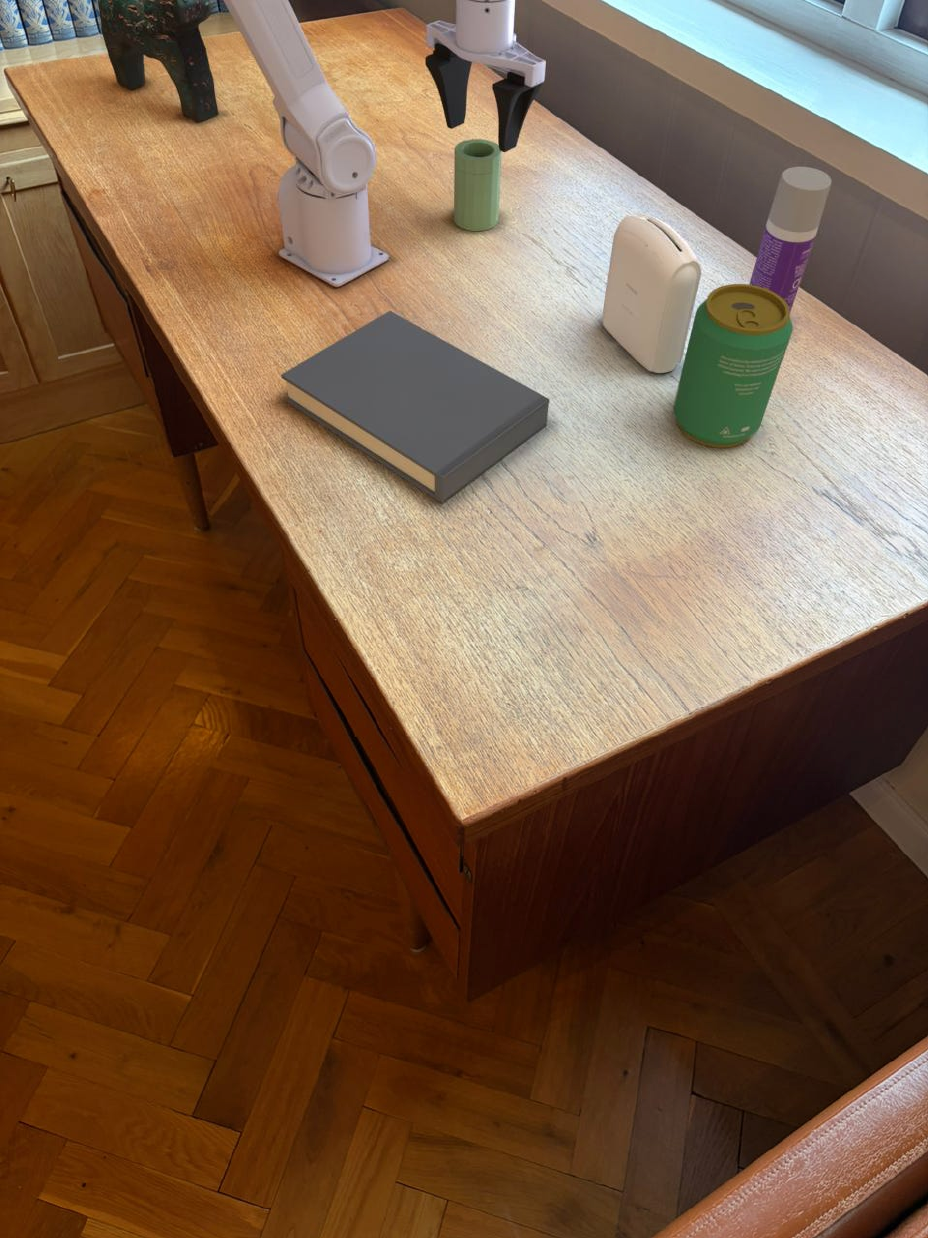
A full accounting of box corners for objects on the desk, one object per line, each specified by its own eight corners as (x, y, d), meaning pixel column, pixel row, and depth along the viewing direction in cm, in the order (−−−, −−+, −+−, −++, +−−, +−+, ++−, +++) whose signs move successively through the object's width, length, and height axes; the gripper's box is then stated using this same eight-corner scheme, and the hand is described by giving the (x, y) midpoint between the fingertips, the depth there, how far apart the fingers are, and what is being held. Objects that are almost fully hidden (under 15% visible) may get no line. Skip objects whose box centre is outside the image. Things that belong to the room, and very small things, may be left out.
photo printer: (594, 323, 96) (611, 205, 86) (630, 313, 97) (650, 196, 87) (649, 379, 90) (674, 261, 80) (686, 368, 91) (715, 250, 82)
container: (785, 338, 95) (834, 193, 83) (739, 332, 95) (780, 187, 83) (785, 312, 98) (832, 168, 86) (739, 306, 98) (780, 162, 86)
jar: (444, 219, 108) (445, 149, 102) (474, 203, 111) (476, 134, 104) (478, 235, 106) (480, 165, 100) (507, 219, 108) (511, 149, 102)
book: (285, 401, 87) (280, 374, 85) (391, 336, 94) (389, 310, 91) (443, 504, 79) (442, 477, 77) (546, 425, 86) (549, 398, 83)
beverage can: (748, 394, 89) (784, 279, 79) (767, 450, 84) (808, 335, 74) (664, 394, 89) (691, 279, 79) (678, 450, 84) (708, 335, 74)
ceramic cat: (233, 116, 124) (204, -65, 108) (195, 132, 121) (158, -52, 105) (140, 73, 132) (100, -101, 116) (102, 87, 129) (55, -90, 113)
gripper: (570, 0, 89) (556, 146, 100) (459, -37, 95) (457, 104, 106) (522, 20, 86) (513, 168, 96) (410, -20, 92) (413, 123, 102)
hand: (481, 136), depth 101 cm, fingers open, 7 cm apart
